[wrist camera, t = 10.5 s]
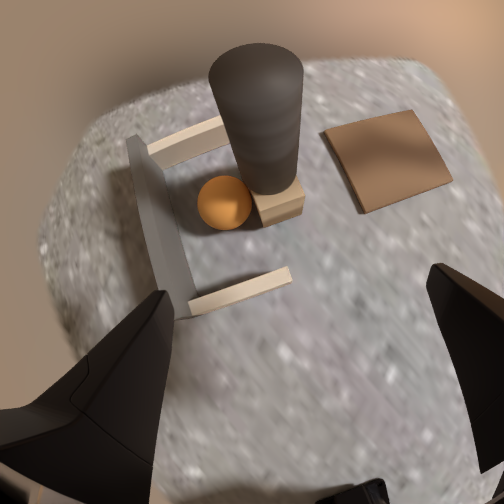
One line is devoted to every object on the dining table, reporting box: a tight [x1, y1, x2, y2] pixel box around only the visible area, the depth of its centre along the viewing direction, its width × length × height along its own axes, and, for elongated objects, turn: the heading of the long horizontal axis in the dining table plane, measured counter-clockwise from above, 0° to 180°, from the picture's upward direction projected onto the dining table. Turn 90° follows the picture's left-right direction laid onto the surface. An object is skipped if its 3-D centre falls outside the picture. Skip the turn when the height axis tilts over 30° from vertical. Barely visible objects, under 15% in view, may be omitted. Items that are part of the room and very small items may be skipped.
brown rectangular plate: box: [324, 110, 453, 214], centre depth 22 cm, size 8×10×1 cm
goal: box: [126, 115, 292, 321], centre depth 21 cm, size 14×8×5 cm, turn 19°
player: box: [209, 43, 305, 228], centre depth 16 cm, size 5×4×13 cm
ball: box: [197, 176, 252, 230], centre depth 21 cm, size 4×4×4 cm
